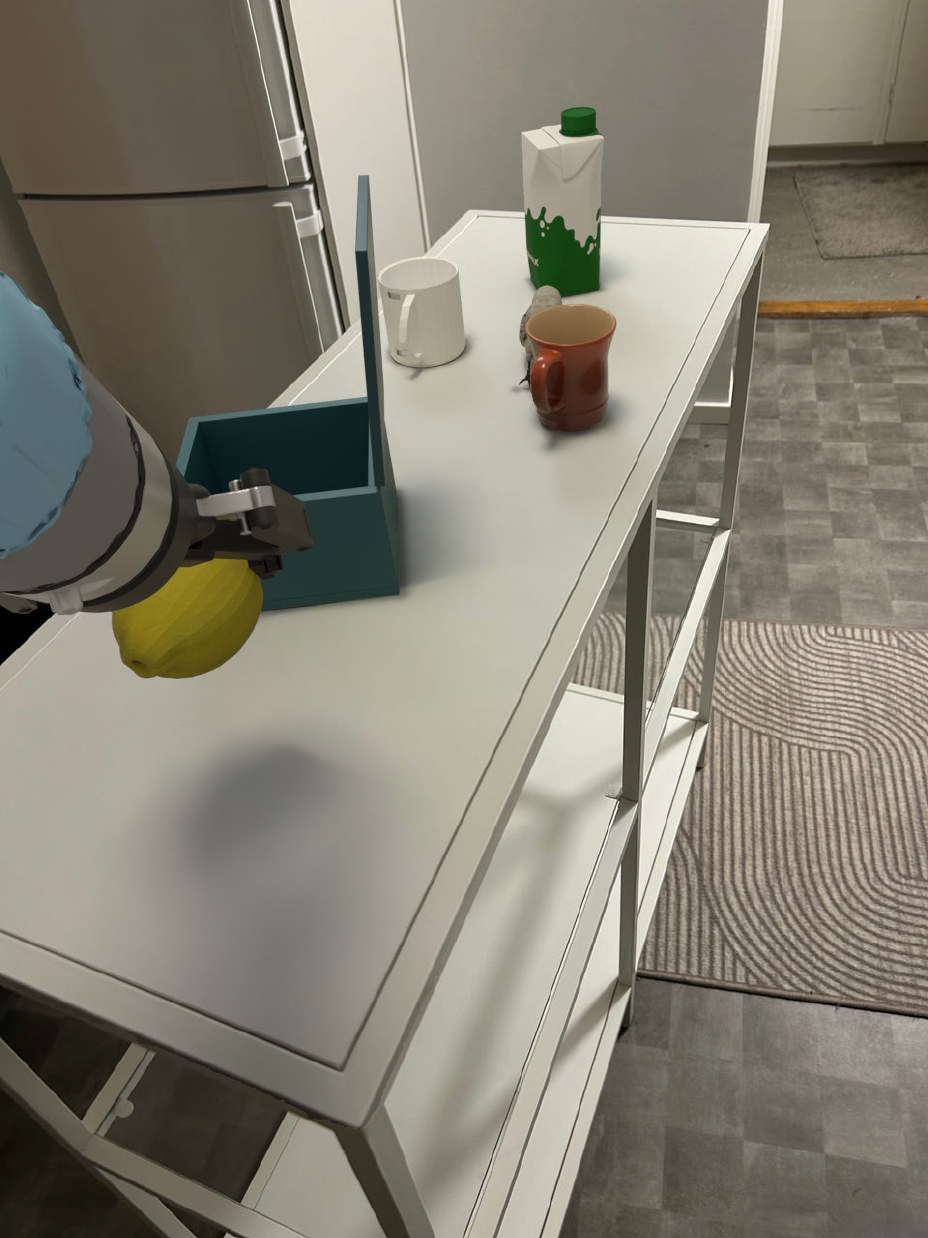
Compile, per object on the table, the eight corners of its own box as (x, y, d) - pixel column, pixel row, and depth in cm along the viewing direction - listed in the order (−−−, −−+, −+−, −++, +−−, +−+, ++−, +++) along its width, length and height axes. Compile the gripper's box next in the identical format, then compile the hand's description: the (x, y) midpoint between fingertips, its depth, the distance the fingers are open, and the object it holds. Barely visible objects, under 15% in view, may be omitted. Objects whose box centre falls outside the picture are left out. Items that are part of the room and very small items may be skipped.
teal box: (199, 618, 78) (160, 517, 71) (221, 513, 89) (189, 417, 82) (399, 595, 77) (380, 491, 70) (396, 492, 89) (380, 394, 81)
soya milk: (608, 291, 117) (611, 117, 103) (540, 304, 116) (533, 131, 102) (586, 265, 123) (585, 99, 110) (520, 278, 122) (512, 111, 109)
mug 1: (412, 328, 114) (401, 253, 108) (478, 337, 111) (471, 259, 105) (364, 374, 107) (350, 296, 100) (433, 385, 103) (423, 305, 97)
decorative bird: (571, 324, 111) (570, 263, 106) (566, 392, 100) (565, 327, 94) (526, 326, 112) (523, 265, 107) (516, 393, 100) (512, 329, 95)
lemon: (208, 585, 61) (172, 484, 55) (307, 613, 58) (278, 509, 53) (95, 699, 54) (41, 596, 49) (200, 737, 51) (155, 632, 46)
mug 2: (552, 389, 100) (549, 298, 93) (627, 404, 96) (630, 310, 89) (499, 446, 93) (492, 352, 86) (579, 464, 89) (578, 367, 82)
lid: (354, 250, 58) (367, 250, 58) (358, 174, 69) (368, 174, 69) (374, 487, 70) (385, 486, 70) (374, 390, 81) (383, 389, 81)
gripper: (-217, 671, 32) (25, 673, 55) (378, 541, 34) (375, 594, 57) (-260, 462, 32) (-1, 550, 55) (333, 346, 35) (347, 477, 57)
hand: (190, 573), depth 56 cm, fingers closed on lemon, 8 cm apart
